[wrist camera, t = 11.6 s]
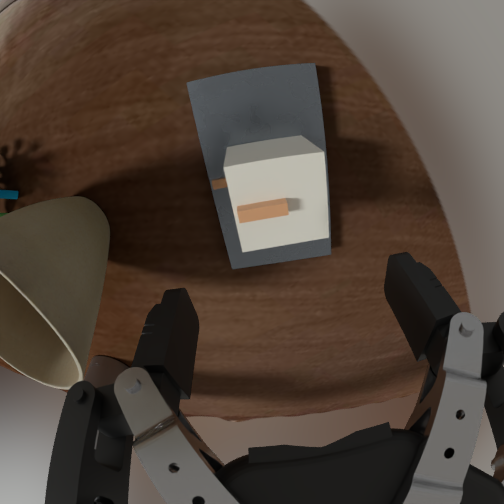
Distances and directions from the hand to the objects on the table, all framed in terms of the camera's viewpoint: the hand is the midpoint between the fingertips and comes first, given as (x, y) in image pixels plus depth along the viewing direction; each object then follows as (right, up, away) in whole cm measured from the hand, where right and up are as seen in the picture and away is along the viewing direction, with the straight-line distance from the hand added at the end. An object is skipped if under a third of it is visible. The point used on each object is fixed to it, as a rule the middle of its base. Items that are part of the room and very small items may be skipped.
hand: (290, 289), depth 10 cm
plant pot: (-20, +4, +16) cm, 26 cm away
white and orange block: (0, +8, +12) cm, 14 cm away
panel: (0, +9, +13) cm, 16 cm away
